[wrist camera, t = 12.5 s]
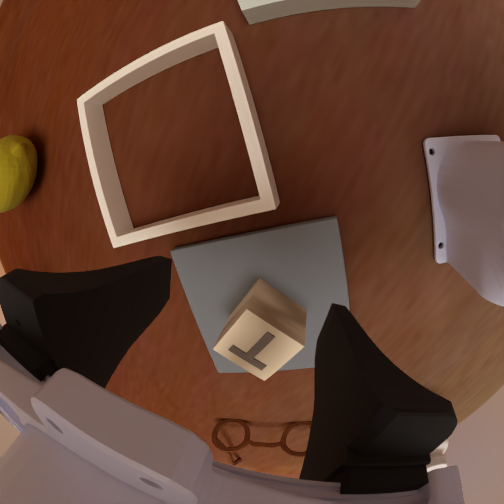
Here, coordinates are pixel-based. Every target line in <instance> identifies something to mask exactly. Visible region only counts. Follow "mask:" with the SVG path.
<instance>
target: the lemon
mask: <svg viewBox="0 0 504 504" xmlns="http://www.w3.org/2000/svg"><path fill="white" fill-rule="evenodd" d="M37 159H38V157H37V151H36V149H35V147H34V145H33V143H32V142H31V141H30V140H29V139H27V138H25V137H23V136H19V135H9V136H6V137H4V138H1V139H0V213H1V212H5V211H9V210H12V209H14V208H15V207H17V206H18V205H20V204H21V203H22V202H23V201H24V199H25V198H26V197H27V195H28V194H29V192H30V190H31V188H32V186H33V184H34V181H35V178H36V174H37Z"/></svg>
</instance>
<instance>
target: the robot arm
mask: <svg viewBox="0 0 504 504" xmlns="http://www.w3.org/2000/svg"><path fill="white" fill-rule="evenodd" d="M423 147H424V153H425V158H426V164H427V171H428V177H429V185H430V193H431V203H432V214H433V230H434V259H435V261H436V262H437V263H439V264H441V263H445V262H448V263H449V264H450V265H451V266H452V267H453V268H454V269H455V270H456V271H457V272H458V273H459V274H460V275H461V276H462V277H463V278H464V279H465V280H466V281H467V282H468V283H469V284H470V285H471V286H472V287H473V288H474V289H475V290H476V291H477V293H478V294H479V295H481V296H482V297H483V298H485V299H486V300H488V301H490V302H492V303H494V304H497V305H500V306H504V141H500V138H499V136H498V135H468V136H449V137H435V138H427V139H425V140H424V142H423ZM430 149H432V151H433V154H432V155H430V153H429V150H430ZM441 242H442V245H441V247H438V245H439V243H441ZM171 263H172V259H169V258H166V257H162V256H155V257H150V258H146V259H142V260H138V261H134V262H130V263H126V264H122V265H118V266H113V267H109V268H104V269H99V270H92V271H85V272H69V273H49V272H36V271H29V270H23V269H15V270H12V271H11V272H9V273H7V274H5V275H4V276H2V277H0V305H1V308H2V311H3V314H4V317H5V320H6V323H7V325H6V326H4V327H3V328H2V326H1V324H0V411H1V412H2V414H3V415H4V416H5V417H6V418H7V419H8V420H9V421H10V422H11V423H12V425H13V426H14V427H15V428H16V429H17V430H18V431H19V432H20V433H21V434H20V435H19V436H18V437H17V438H16V440H15V441H14V442H13V443H12V444H11V446H10V447H9V448H8V449H7V450H6V452H5V453H4V454H3V455H2V457H1V458H0V504H464V498H463V492H462V486H461V480H460V475H459V470H458V466H451V467H445V468H438V469H434V470H432V471H429V472H427V467H426V465H428V464H430V462H431V457H430V453H431V452H433V451H434V450H435V449H436V448H437V447H439V446H440V445H441V444H442V443H443V442H444V441H445V440H446V439H447V438H448V437H449V436H450V435H451V434H452V432H453V431H454V429H455V427H456V425H457V418H456V415H455V412H454V409H453V406H452V403H451V401H449V400H447V399H445V398H443V397H441V396H439V395H437V394H435V393H433V392H431V391H430V390H428V389H427V388H425V387H423V386H422V385H420V384H419V383H417V382H416V381H414V380H413V379H412V378H410V377H409V376H408V375H407V374H405V373H404V372H403V371H402V370H400V369H399V368H398V367H397V366H396V365H395V364H393V363H392V362H391V361H390V360H389V359H388V358H387V357H386V356H385V355H384V354H383V353H382V352H381V351H380V350H379V348H378V347H377V346H376V345H375V344H374V343H373V341H372V340H371V339H370V338H369V336H368V335H367V334H366V333H365V331H364V330H363V329H362V327H361V326H360V325H359V323H358V322H357V321H356V319H355V318H354V316H353V315H352V314H351V312H350V311H349V310H348V309H347V307H346V306H343V305H339V304H335V303H332V304H331V307H330V309H329V312H328V314H327V317H326V319H325V322H324V324H323V327H322V329H321V331H320V334H319V336H318V339H317V344H316V351H315V398H314V411H313V418H312V424H311V430H310V436H309V441H308V446H307V450H306V454H305V459H304V463H303V467H302V470H301V474H300V478H299V479H295V478H288V477H282V476H276V475H271V474H265V473H261V472H256V471H251V470H247V469H243V468H239V467H235V466H231V465H228V464H224V463H221V462H217V461H214V460H213V459H214V457H213V455H212V453H211V450H210V448H209V446H208V445H207V443H205V442H204V441H203V440H202V439H200V438H199V437H198V436H197V435H195V434H194V433H193V432H192V431H190V430H188V429H186V428H184V427H182V426H180V425H178V424H176V423H174V422H172V421H170V420H168V419H166V418H164V417H161V416H159V415H157V414H154V413H152V412H150V411H148V410H145V409H143V408H141V407H139V406H137V405H135V404H133V403H131V402H129V401H127V400H125V399H123V398H121V397H119V396H117V395H115V394H113V393H112V392H110V391H108V390H106V389H105V387H106V385H107V383H108V381H109V379H110V378H111V376H112V374H113V373H114V371H115V369H116V368H117V366H118V364H119V363H120V361H121V360H122V358H123V357H124V355H125V354H126V352H127V351H128V349H129V348H130V347H131V345H132V344H133V343H134V342H135V341H136V340H137V338H138V337H139V336H140V335H141V334H142V333H143V332H144V330H145V329H146V328H147V327H148V326H149V325H150V324H151V323H152V321H153V320H154V319H155V318H156V317H157V316H158V315H159V313H160V312H161V310H162V309H163V307H164V306H165V304H166V303H167V301H168V299H169V298H170V279H171Z"/></svg>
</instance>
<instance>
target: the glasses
mask: <svg viewBox="0 0 504 504" xmlns="http://www.w3.org/2000/svg"><path fill="white" fill-rule="evenodd" d="M230 423H235V424H239V425H241V426H243V427H244V429H245V438H244V441H243V442H242V443H241V444H240V445H238V446H236V447H226V446H225V445H224V444H223V443H222V442H221V441H220V440H219V439H218V438H217V434H218V431H219V429H220V428H221V427H222V426H224V425H226V424H230ZM311 424H312V422H308V421H299V422H295V423H292V424H290V425H289V426H287V427H286V428H285V430H284V432H283V434H282V437H281V441H280V442H277V443H262V442H253V441H251V440H250V430H249V427H248V425H247V424H246V423H245V422H243V421H241V420H238V419H226V420H223V421H221V422H219V423H218V424H217V425H216V426H215V428H214V429H213V432H212V442H213V444H214V445H215V446H216V447H217V448H218V449H220V450H222V451H224V452H225V453H226V454H227V455H228V458H229V461H230V462H231V464H232V465H236V464H238V463H239V462H241V461H242V459H240V458H238V459H237V460H235V461H234V460H233V457H232V454H231V452H236V451H240V450H242V449H244V448H245V447H247V445H248V444H250V445H251V446H254V447H260V448H276V447H279V446H281V448H282V450H283V451H285V452H286V453H287V454H289V455H291V456H295V457H304V456H305V454H306V451H305V452H296V451H292V450H290V449H289V448H288V447H287V445H286V437H287V435H288V433H289V431H291V430H292V429H293V428H296V427H299V426H307V427H311Z"/></svg>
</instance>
